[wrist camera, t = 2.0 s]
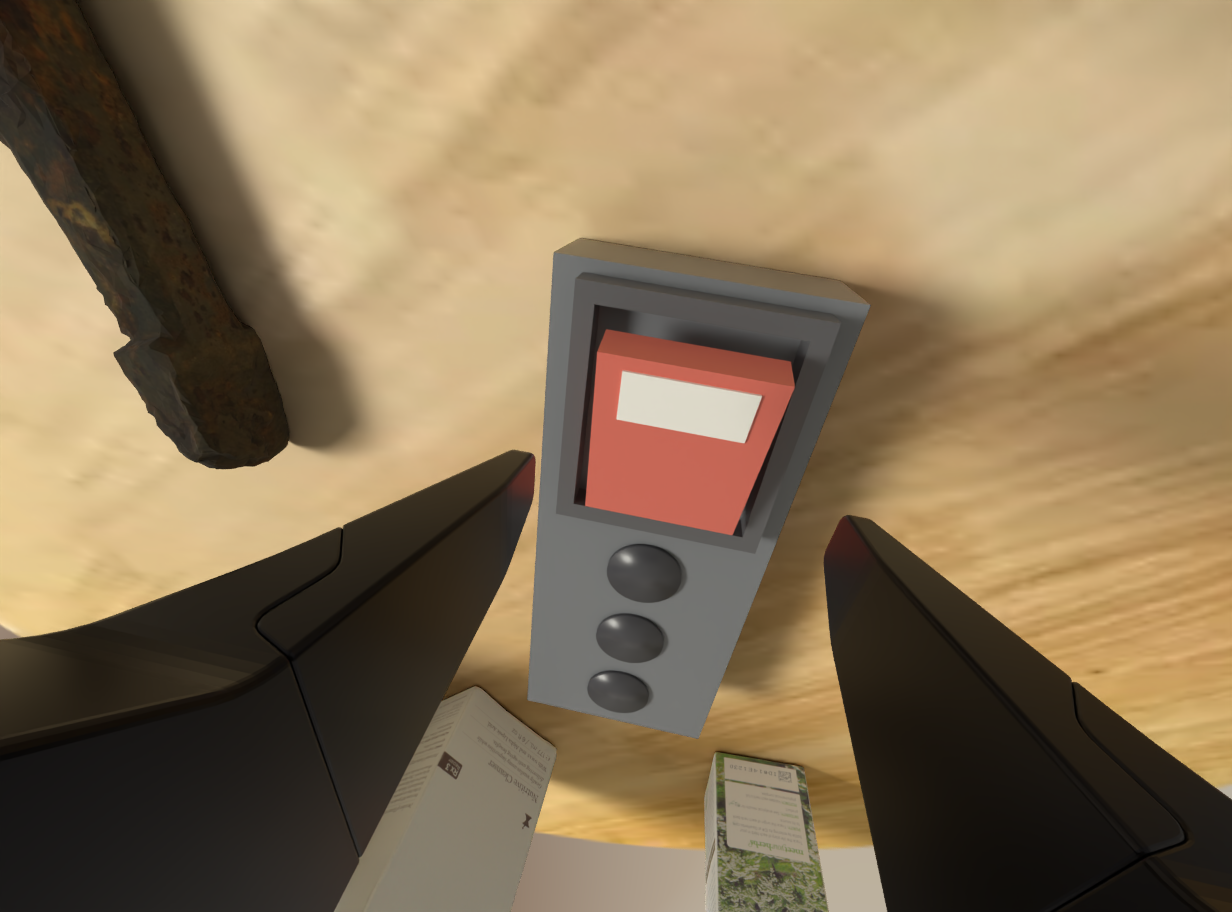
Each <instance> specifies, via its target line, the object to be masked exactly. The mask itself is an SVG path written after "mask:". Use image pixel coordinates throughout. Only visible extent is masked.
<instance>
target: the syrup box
mask: <svg viewBox="0 0 1232 912" xmlns="http://www.w3.org/2000/svg"><path fill="white" fill-rule="evenodd" d="M704 816H705V855H706V856H705V860H706V861H705V866H706V912H829V910H828V904H827V898H826V892H825V887H824V882H823V876H822V869H821V864H820V858H819V852H818V846H817V840H816V834H815V828H814V823H813V817H812V811H811V805H810V800H809V794H808V788H807V782H806V776H805V771H804V768H803V767H801V766H796V765H790V764H784V763H778V762H772V761H767V760H761V759H755V758H749V757H743V756H737V755H731V754H726V753H719V752H716V753H715V754H714V758H713V762H712V766H711V771H710V775H709V779H708V783H707V787H706V792H705V796H704Z"/></svg>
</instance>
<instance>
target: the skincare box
mask: <svg viewBox="0 0 1232 912" xmlns="http://www.w3.org/2000/svg"><path fill="white" fill-rule="evenodd" d="M556 751H557V749H556V748H555V747H554V746H553V745H552V744H550V743H549V742H548V741H546V740H544V739H543V738H541V737H540V736H539V735H538V734H536V733H535V732H534V731H532V730H531V729H530V728H528V727H527V726H526V725H524V724H523V723H522V722H521V721H519V720H518V719H517V718H515V717H514V716H513V715H511V714H510V713H509V712H507V711H506V710H505V709H504V708H503V707H501V706H500V705H499V704H498V703H497V702H496V701H495V700H493V699H492V698H491V697H490V696H489V695H488V694H487V693H486V692H485V691H483V690H482V689H481V688H479V687H476V686H474V687H472V688H470V689H467V690H465V691H463V692H461V693H459V694H456V695H454V696H452V697H450V698H448V699H445V700H443V701H441V703H440V705H439V707H438V709H437V711H436V712H435V714H434V716H433V718H432V720H431V722H430V724H429V726H428V728H427V730H426V732H425V734H424V736H423V738H422V740H421V742H420V744H419V746H418V748H417V750H416V752H415V754H414V755H413V757H412V759H411V761H410V763H409V765H408V767H407V769H406V771H405V773H404V775H403V777H402V779H401V781H400V783H399V785H398V787H397V789H396V791H395V793H394V795H393V797H392V799H391V800H390V802H389V804H388V806H387V808H386V810H385V812H384V814H383V816H382V818H381V820H380V822H379V824H378V826H377V828H376V830H375V832H374V834H373V836H372V838H371V840H370V842H369V843H368V845H367V847H366V849H365V851H364V853H363V855H362V856H361V857H359V864H358V866H357V868H356V870H355V871H354V873H353V875H352V877H351V879H350V881H349V883H348V885H347V887H346V889H345V891H344V893H343V895H342V897H341V899H340V901H339V903H338V905H337V907H336V909H335V911H334V912H511V909H512V905H513V902H514V899H515V895H516V891H517V888H518V885H519V882H520V878H521V875H522V872H523V868H524V865H525V862H526V858H527V855H528V851H529V848H530V845H531V841H532V838H533V834H534V831H535V827H536V824H537V821H538V818H539V814H540V811H541V808H542V804H543V801H544V797H545V794H546V791H547V787H548V784H549V780H550V777H551V773H552V770H553V767H554V763H555V760H556V756H557V754H556Z"/></svg>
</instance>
